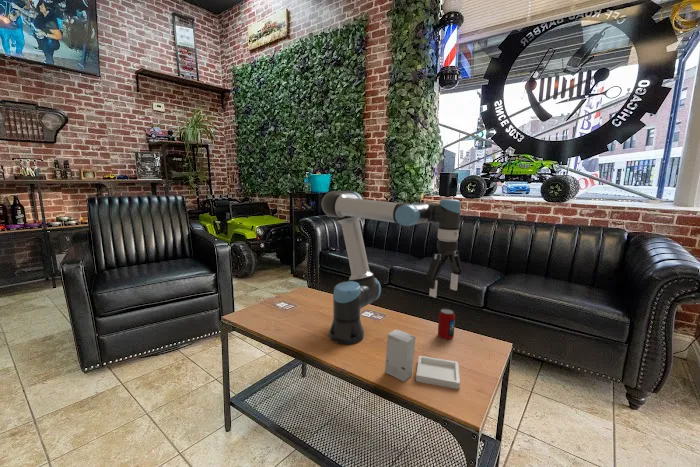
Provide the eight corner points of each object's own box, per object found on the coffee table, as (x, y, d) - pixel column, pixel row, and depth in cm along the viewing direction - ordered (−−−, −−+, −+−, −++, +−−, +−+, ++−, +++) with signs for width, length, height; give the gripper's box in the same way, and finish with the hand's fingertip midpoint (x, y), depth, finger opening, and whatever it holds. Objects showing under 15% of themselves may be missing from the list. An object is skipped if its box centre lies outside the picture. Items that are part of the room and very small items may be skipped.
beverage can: (454, 341, 133) (456, 314, 131) (438, 339, 134) (439, 313, 133) (452, 334, 140) (454, 308, 138) (437, 332, 141) (438, 307, 139)
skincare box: (384, 373, 110) (385, 333, 107) (393, 365, 114) (395, 327, 112) (405, 383, 104) (407, 341, 102) (414, 374, 109) (416, 335, 107)
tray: (415, 381, 105) (416, 375, 105) (418, 361, 118) (419, 355, 117) (459, 389, 101) (459, 383, 101) (457, 367, 114) (457, 361, 113)
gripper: (435, 244, 108) (431, 302, 111) (474, 238, 123) (469, 289, 126) (418, 241, 114) (415, 296, 117) (457, 235, 129) (453, 284, 132)
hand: (443, 293), depth 122 cm, fingers open, 13 cm apart
